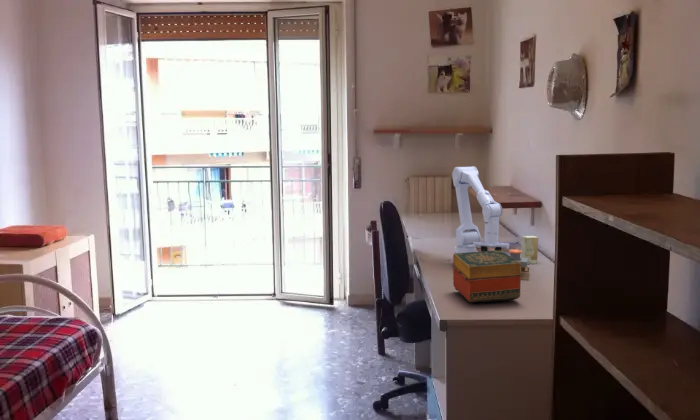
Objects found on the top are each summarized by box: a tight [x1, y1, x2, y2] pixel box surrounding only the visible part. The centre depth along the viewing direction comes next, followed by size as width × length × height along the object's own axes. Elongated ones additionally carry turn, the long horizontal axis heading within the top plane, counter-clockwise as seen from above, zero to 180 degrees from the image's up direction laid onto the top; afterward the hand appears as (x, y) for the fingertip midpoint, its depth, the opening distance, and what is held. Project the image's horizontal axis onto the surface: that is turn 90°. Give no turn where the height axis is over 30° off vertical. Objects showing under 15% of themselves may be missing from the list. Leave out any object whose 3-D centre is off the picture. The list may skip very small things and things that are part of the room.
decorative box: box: [452, 250, 522, 303], centre depth 219 cm, size 20×22×16 cm
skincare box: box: [520, 235, 539, 265], centre depth 275 cm, size 6×4×12 cm
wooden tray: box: [520, 265, 530, 281], centre depth 253 cm, size 21×11×4 cm, turn 73°
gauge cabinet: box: [516, 257, 528, 267], centre depth 261 cm, size 10×8×5 cm
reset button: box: [508, 248, 522, 261], centre depth 260 cm, size 5×5×5 cm
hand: (490, 264), depth 254 cm, fingers closed on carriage, 3 cm apart
